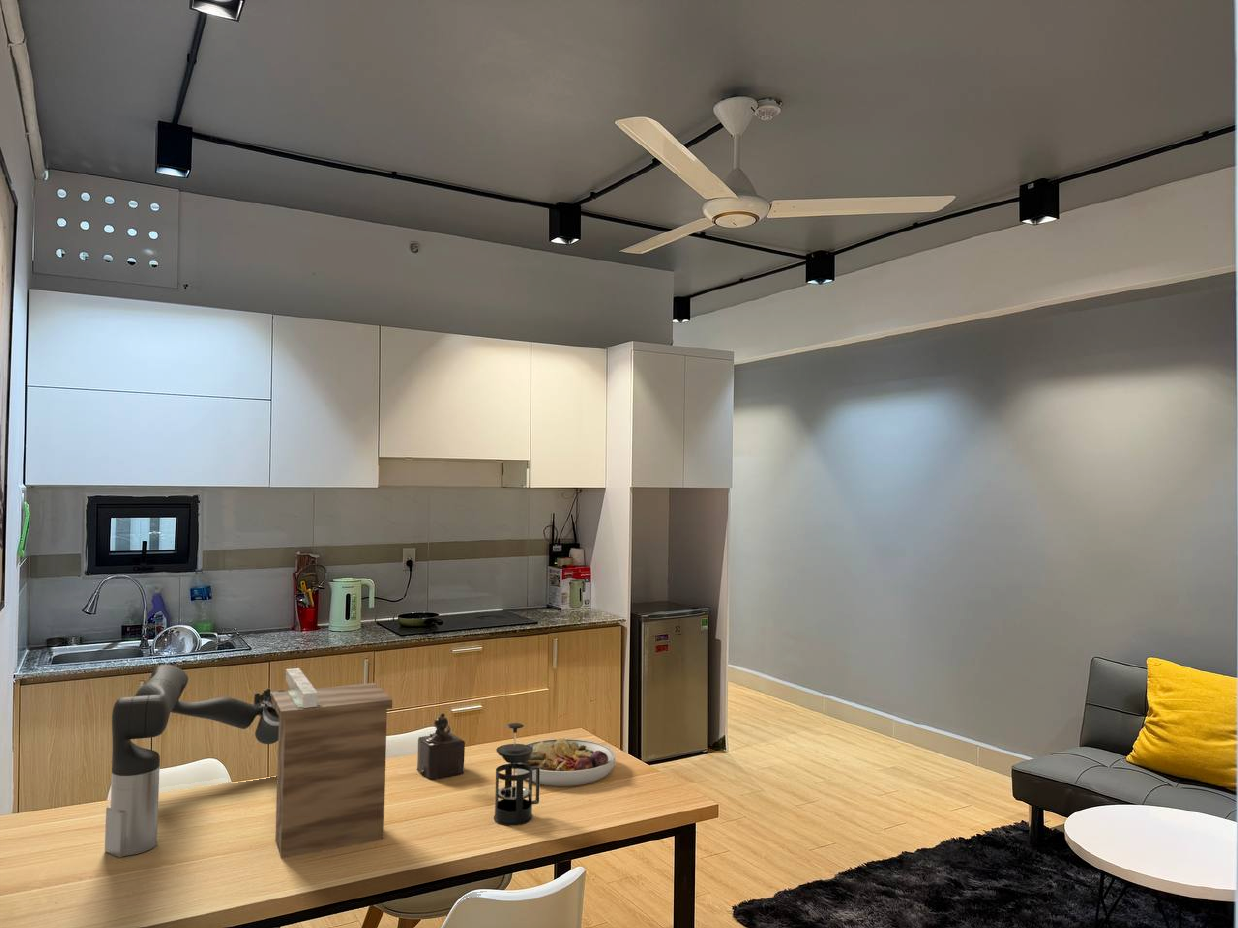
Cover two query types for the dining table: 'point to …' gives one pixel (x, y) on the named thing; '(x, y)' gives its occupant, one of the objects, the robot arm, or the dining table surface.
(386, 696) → the upright wood-grain block
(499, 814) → the french press
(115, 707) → the robot arm
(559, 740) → the bowl
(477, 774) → the dining table surface
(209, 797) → the dining table surface
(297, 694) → the white rectangular bar
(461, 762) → the manual coffee grinder
